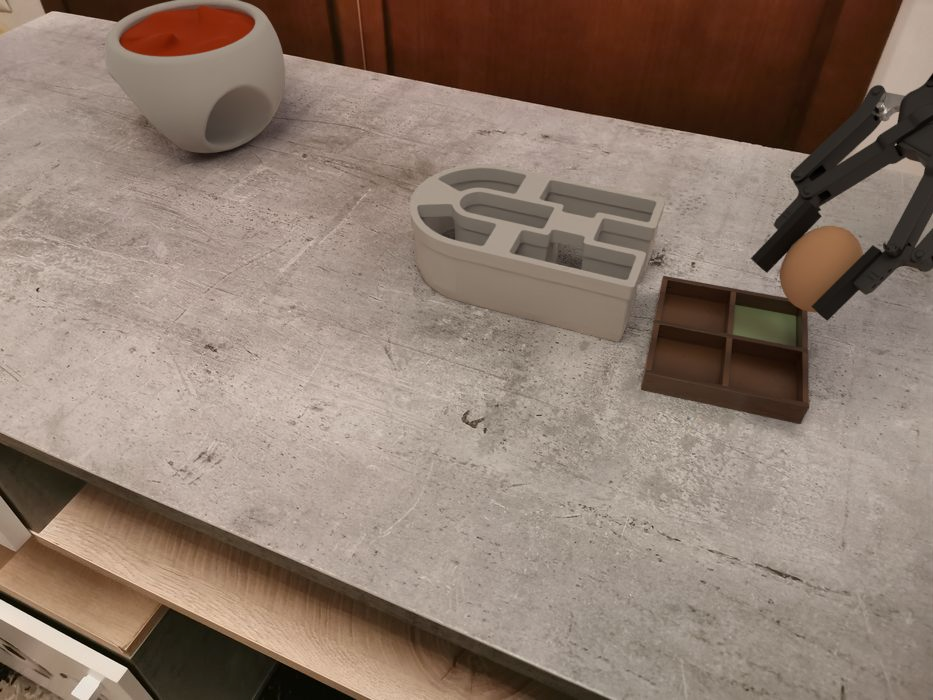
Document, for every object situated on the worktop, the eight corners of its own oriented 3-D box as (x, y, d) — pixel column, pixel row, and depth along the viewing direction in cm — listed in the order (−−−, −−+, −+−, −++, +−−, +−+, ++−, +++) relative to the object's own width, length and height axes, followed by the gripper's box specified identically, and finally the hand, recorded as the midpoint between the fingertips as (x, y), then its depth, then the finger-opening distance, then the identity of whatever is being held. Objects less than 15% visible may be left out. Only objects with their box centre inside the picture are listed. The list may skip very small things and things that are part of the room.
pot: (315, 102, 119) (295, -12, 106) (270, 185, 103) (240, 61, 90) (175, 96, 121) (139, -17, 108) (109, 176, 105) (58, 54, 92)
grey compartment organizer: (621, 347, 80) (633, 287, 73) (391, 287, 87) (384, 228, 81) (653, 257, 90) (666, 198, 84) (445, 210, 98) (443, 153, 91)
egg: (762, 314, 65) (790, 241, 59) (778, 273, 69) (805, 200, 63) (838, 338, 63) (875, 265, 57) (849, 293, 67) (885, 220, 61)
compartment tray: (800, 424, 72) (809, 407, 70) (640, 389, 75) (644, 373, 74) (800, 318, 82) (807, 301, 81) (659, 292, 86) (663, 275, 84)
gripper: (1140, 140, 52) (889, 372, 59) (914, 40, 64) (727, 243, 71) (1145, 88, 47) (868, 350, 54) (897, -11, 59) (696, 214, 66)
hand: (788, 288), depth 62 cm, fingers closed on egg, 6 cm apart
